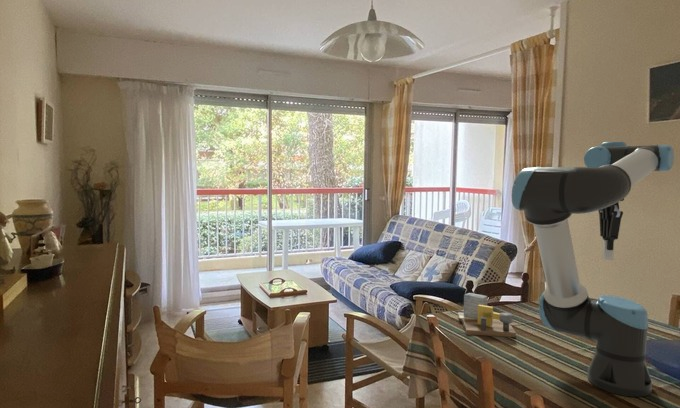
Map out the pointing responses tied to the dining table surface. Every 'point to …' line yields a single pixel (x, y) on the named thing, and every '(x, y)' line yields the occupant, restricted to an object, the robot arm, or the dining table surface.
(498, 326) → the lock plate
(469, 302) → the medicine box
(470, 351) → the dining table surface
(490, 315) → the latch arm
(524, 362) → the dining table surface
